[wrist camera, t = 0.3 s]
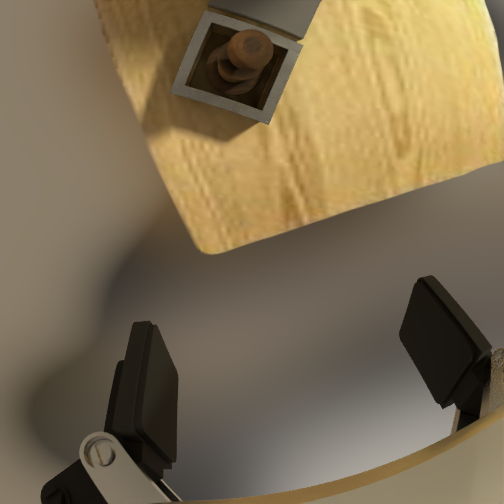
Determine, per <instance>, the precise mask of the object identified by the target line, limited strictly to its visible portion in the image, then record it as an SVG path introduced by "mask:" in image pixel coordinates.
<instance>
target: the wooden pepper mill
mask: <svg viewBox="0 0 504 504" xmlns="http://www.w3.org/2000/svg"><path fill="white" fill-rule="evenodd" d="M273 50H274V49H273V44H272V41H271V40H270V38H269V37H268V36H267V35H266V34H264V33H263V32H261V31H258V30H254V29H246V30H242V31H240V32H238V33H236V34H235V35H234V36H233V37H232V38H231V39H230V41H229V42H227V43H224V44H222V45H220V46H218V47H217V48H216V49H215V50H214V51H213V52H212V53H211V54H210V56H209V58H208V61H207V65H206V72H207V77H208V79H209V81H210V83H211V84H212V85H213V87H214V88H216V89H217V90H218V91H220V92H222V93H225V94H229V95H239V94H243V93H246V92H248V91H250V90H252V89H253V88H254V87H256V86H257V84H258V83H259V82H260V80H261V78H262V76H263V72H264V66H265V65H266V64H268V62H269V61H270V60H271V58H272V56H273Z"/></svg>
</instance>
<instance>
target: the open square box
mask: <svg viewBox="0 0 504 504" xmlns="http://www.w3.org/2000/svg"><path fill="white" fill-rule="evenodd" d="M246 29H254V30H258V31H261V32H263V33H264V34H266V35H267V36H268V37H269V38H270V40H271V41H272V44H273V49H274V50H273V53H275V54H278V55H279V56H278V58H277V61H276V63H275V65H274V67H273V70H272V72H271V74H270V77H269V79H268V81H267V84H266V86H265V88H264V91H263V93H262V95H261V98H260V100H259V103H258V105H257V107H256V108H253V107H250V106H248V105H245V104H242V103H239V102H236V101H233V100H230V99H227V98H224V97H221V96H218V95H215V94H212V93H209V92H205V91H202V90H199V89H195V88H192V87H189V84H190V82H191V79H192V77H193V74H194V71H195V69H196V67H197V64H198V62H199V59H200V57H201V54H202V52H203V50H204V47H205V45H206V43H207V41H208V38H209V36H210V34H211V32H215V33H218V34H222V35H225V36H228V37H231V38H232V37H233V36H234V35H235V34H236V33H238V32H240V31H242V30H246ZM302 47H303V45H301V44H299V43H297V42H295V41H292V40H290V39H288V38H285V37H283V36H281V35H278V34H276V33H273V32H271V31H268V30H265V29H263V28H260V27H257V26H255V25H252V24H249V23H246V22H243V21H240V20H237V19H234V18H231V17H227V16H224V15H221V14H217V13H214V12H210V11H206V10H205V11H204V13H203V15H202V17H201V19H200V21H199V23H198V25H197V28H196V30H195V32H194V34H193V37H192V39H191V41H190V43H189V46H188V48H187V51H186V53H185V55H184V58H183V60H182V63H181V65H180V68H179V70H178V73H177V75H176V78H175V81H174V83H173V86H172V89H171V92H170V93H172V94H175V95H179V96H183V97H186V98H190V99H193V100H197V101H200V102H203V103H207V104H210V105H213V106H216V107H219V108H222V109H225V110H228V111H231V112H234V113H237V114H240V115H243V116H246V117H249V118H251V119H254V120H257V121H259V122H262V123H265V124H267V125H269V123H270V121H271V118H272V116H273V114H274V111H275V109H276V106H277V104H278V102H279V99H280V97H281V95H282V92H283V90H284V88H285V85H286V83H287V81H288V79H289V76H290V74H291V72H292V69H293V67H294V65H295V63H296V60H297V58H298V56H299V54H300V51H301V49H302Z"/></svg>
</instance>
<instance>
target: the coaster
mask: <svg viewBox="0 0 504 504" xmlns="http://www.w3.org/2000/svg"><path fill="white" fill-rule="evenodd" d="M320 2H321V0H210V2H209V4H208V7H212V8H216V9H219V10H223V11H226V12H229V13H233V14H236V15H239V16H242V17H245V18H248V19H251V20H254V21H256V22H259V23H262V24H265V25H267V26H270V27H272V28H275V29H277V30H280V31H282V32H285V33H287V34H289V35H292V36H294V37H296V38H299V39H303V38H304V36H305V34H306V32H307V29H308V27H309V25H310V23H311V21H312V19H313V17H314V14H315V12H316V10H317V8H318V6H319V4H320Z"/></svg>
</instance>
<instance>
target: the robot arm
mask: <svg viewBox="0 0 504 504" xmlns="http://www.w3.org/2000/svg"><path fill="white" fill-rule="evenodd" d="M399 336H400V340H401V342H402V343H403V345H404V347H405V348H406V350H407V352H408V353H409V355H410V357H411V359H412V360H413V362H414V364H415V365H416V367H417V369H418V371H419V372H420V374H421V376H422V378H423V380H424V381H425V383H426V385H427V387H428V389H429V390H430V392H431V394H432V396H433V398H434V400H435V401H436V403H438V404H440V405H441V407H442V409H444V408H446V407H448V406H450V405H452V404H453V403H455V405H456V412H455V417H454V421H453V426H452V431H451V435H450V436H448V437H446V438H444V439H442V440H441V441H438V442H436V443H434V444H432V445H430V446H428V447H426V448H424V449H421V450H419V451H417V452H415V453H412V454H410V455H408V456H405V457H403V458H401V459H398V460H396V461H393V462H390V463H388V464H385V465H382V466H380V467H377V468H374V469H371V470H368V471H365V472H362V473H360V474H356V475H353V476H349V477H346V478H343V479H340V480H336V481H332V482H328V483H324V484H320V485H316V486H311V487H307V488H302V489H297V490H292V491H287V492H281V493H274V494H268V495H260V496H253V497H243V498H234V499H222V500H206V501H205V500H203V501H182V500H181V499H180V498H179V497H178V496H177V495H176V494H175V493H174V492H173V491H172V490H171V489H170V488H169V486H168V485H167V484H166V483H164V481H163V480H162V478H163V469H172V462H176V454H177V452H176V451H177V450H176V449H177V444H176V443H177V401H178V374H177V370H176V368H175V366H174V364H173V362H172V359H171V357H170V355H169V352H168V350H167V348H166V345H165V343H164V341H163V338H162V336H161V334H160V331H159V329H158V326H157V325H152V323H151V322H150V321H143V322H134V323H133V325H132V330H131V333H130V337H129V342H128V346H127V351H126V355H125V360H121V361H119V362H118V364H117V367H116V370H115V375H114V380H113V384H112V389H111V394H110V399H109V404H108V410H107V415H106V421H105V427H104V432H95V433H93V434H91V435H89V436H88V437H86V438H85V439H84V441H83V442H82V444H81V447H80V451H79V452H80V459H79V460H77V461H76V462H75V463H73V464H72V465H70V467H68V468H66V469H65V470H64V471H62V472H61V473H60V474H58V475H57V476H55V477H54V478H53V479H51V480H50V481H48V482H47V483H46V484H45V485H44V486H43V489H42V490H41V503H42V504H504V347H501V348H497V349H496V350H494V352H493V353H491V351H490V350H491V349H492V346H491V345H490V344H489V342H488V341H487V339H486V338H485V337H484V335H483V334H482V333H481V332H480V330H479V329H478V328H477V326H476V325H475V324H474V323H473V321H472V320H471V319H470V318H469V316H468V315H467V314H466V313H465V311H464V310H463V309H462V308H461V307H460V305H459V304H458V303H457V302H456V301H455V300H454V298H453V297H452V296H451V295H450V294H449V293H448V291H447V290H446V289H445V288H444V287H443V286H442V285H441V284H440V282H439V281H438V280H437V279H436V278H435V277H434V276H432V275H430V276H426V277H421V278H419V279H418V280H417V282H416V283H415V284H414V287H413V290H412V294H411V297H410V301H409V304H408V307H407V311H406V314H405V317H404V320H403V323H402V326H401V329H400V332H399Z"/></svg>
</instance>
